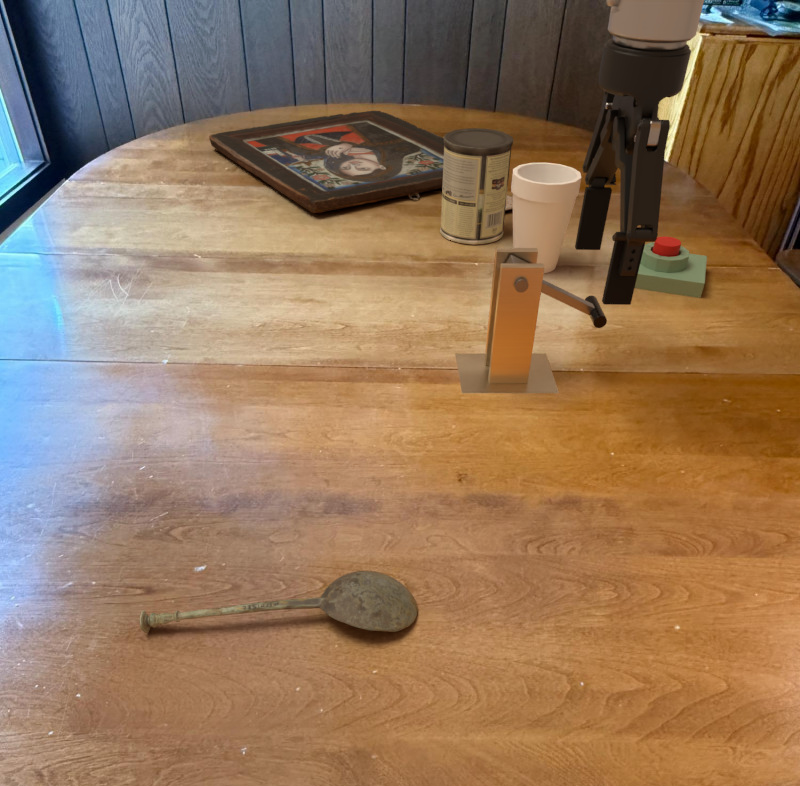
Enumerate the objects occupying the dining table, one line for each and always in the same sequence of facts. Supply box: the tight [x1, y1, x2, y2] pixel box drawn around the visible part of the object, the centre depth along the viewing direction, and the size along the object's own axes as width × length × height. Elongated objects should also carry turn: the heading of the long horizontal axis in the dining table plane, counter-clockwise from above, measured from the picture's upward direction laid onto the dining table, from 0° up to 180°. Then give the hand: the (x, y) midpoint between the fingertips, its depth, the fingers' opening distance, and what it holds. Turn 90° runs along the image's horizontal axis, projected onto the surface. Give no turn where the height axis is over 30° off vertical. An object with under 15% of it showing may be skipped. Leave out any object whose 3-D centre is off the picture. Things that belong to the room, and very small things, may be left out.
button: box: [652, 236, 682, 257], centre depth 110 cm, size 4×4×2 cm
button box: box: [634, 242, 708, 299], centre depth 111 cm, size 12×10×4 cm
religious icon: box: [208, 110, 444, 214], centre depth 148 cm, size 40×45×3 cm
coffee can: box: [439, 127, 514, 245], centre depth 119 cm, size 10×10×14 cm
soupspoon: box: [139, 570, 419, 634], centre depth 62 cm, size 22×3×7 cm
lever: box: [506, 255, 608, 329], centre depth 83 cm, size 12×5×2 cm, turn 92°
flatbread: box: [505, 195, 513, 212], centre depth 133 cm, size 8×8×1 cm
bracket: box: [454, 247, 560, 395], centre depth 85 cm, size 11×9×15 cm
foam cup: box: [510, 161, 582, 274], centre depth 111 cm, size 10×9×13 cm
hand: (600, 274), depth 82 cm, fingers open, 13 cm apart
